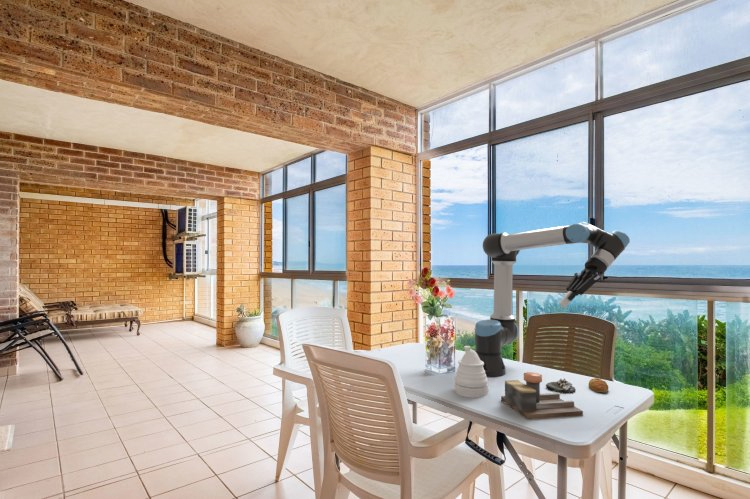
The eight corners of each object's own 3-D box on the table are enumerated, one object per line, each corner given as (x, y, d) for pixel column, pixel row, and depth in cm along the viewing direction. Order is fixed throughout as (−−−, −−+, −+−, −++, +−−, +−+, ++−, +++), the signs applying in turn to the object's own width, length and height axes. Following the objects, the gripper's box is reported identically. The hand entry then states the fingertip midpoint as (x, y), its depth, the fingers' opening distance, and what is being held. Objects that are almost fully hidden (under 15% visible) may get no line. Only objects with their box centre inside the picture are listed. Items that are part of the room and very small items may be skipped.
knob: (520, 400, 141) (520, 372, 141) (536, 399, 142) (535, 371, 142) (529, 406, 135) (529, 377, 136) (546, 405, 136) (545, 376, 137)
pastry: (612, 394, 153) (612, 384, 153) (593, 393, 154) (592, 383, 155) (605, 387, 162) (604, 378, 162) (586, 386, 163) (586, 376, 164)
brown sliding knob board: (501, 400, 146) (500, 378, 147) (550, 397, 150) (550, 375, 150) (527, 419, 129) (527, 394, 129) (582, 415, 132) (582, 390, 132)
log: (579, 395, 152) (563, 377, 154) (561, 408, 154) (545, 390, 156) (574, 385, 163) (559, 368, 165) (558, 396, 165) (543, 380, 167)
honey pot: (471, 399, 147) (471, 351, 148) (447, 390, 158) (447, 345, 159) (495, 393, 154) (494, 347, 155) (471, 384, 165) (470, 341, 165)
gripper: (617, 269, 153) (579, 314, 150) (593, 269, 166) (557, 309, 163) (604, 256, 152) (566, 300, 149) (581, 256, 165) (545, 297, 162)
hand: (561, 305), depth 156 cm, fingers closed
